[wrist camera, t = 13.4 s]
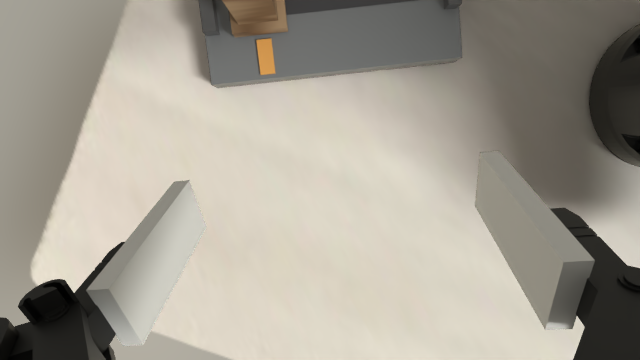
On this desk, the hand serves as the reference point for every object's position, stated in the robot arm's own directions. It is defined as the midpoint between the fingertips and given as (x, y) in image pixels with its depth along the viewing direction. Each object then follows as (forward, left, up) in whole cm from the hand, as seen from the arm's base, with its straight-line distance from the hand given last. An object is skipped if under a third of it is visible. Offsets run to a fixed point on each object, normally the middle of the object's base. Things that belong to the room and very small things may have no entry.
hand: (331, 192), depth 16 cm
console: (-2, -15, -20) cm, 26 cm away
